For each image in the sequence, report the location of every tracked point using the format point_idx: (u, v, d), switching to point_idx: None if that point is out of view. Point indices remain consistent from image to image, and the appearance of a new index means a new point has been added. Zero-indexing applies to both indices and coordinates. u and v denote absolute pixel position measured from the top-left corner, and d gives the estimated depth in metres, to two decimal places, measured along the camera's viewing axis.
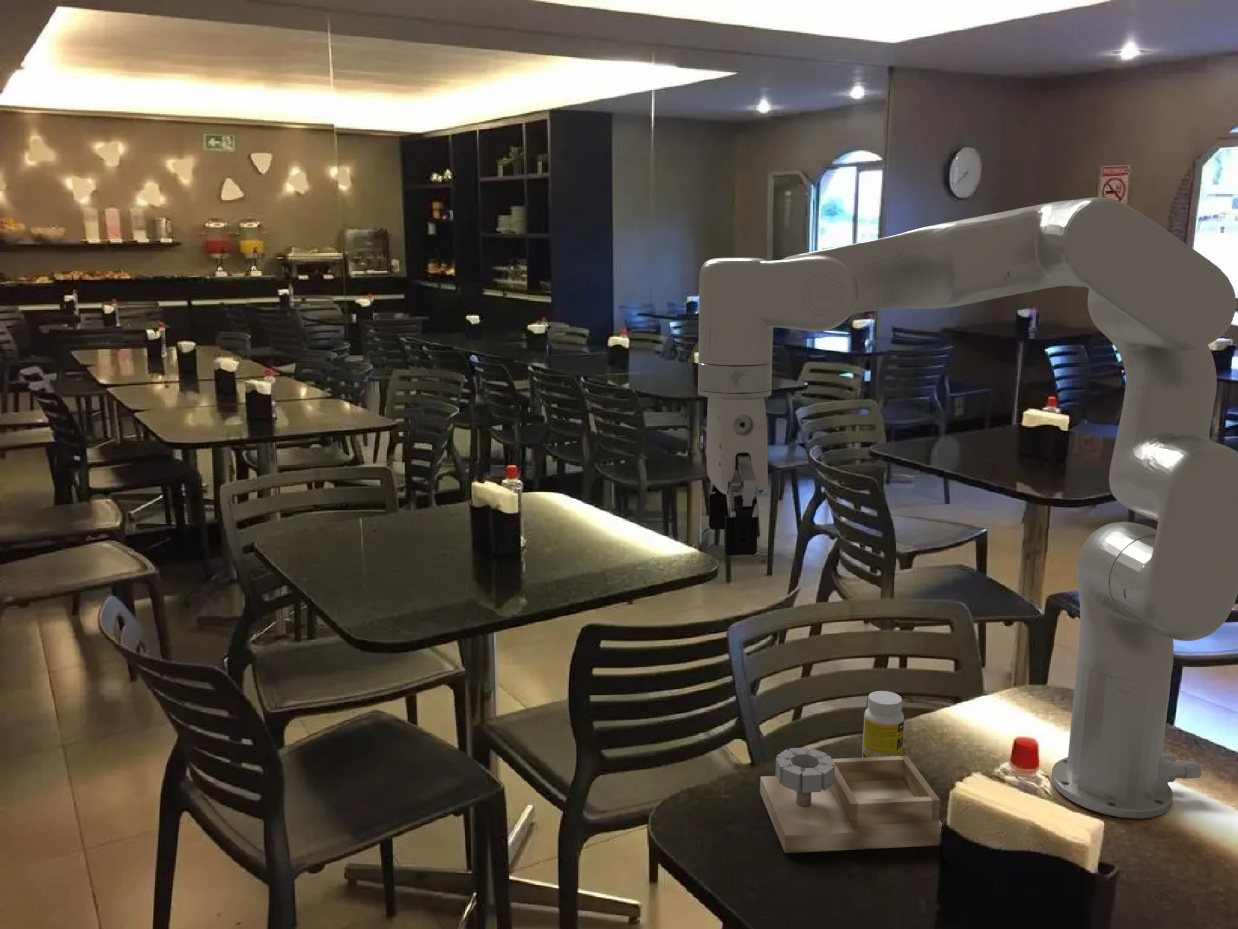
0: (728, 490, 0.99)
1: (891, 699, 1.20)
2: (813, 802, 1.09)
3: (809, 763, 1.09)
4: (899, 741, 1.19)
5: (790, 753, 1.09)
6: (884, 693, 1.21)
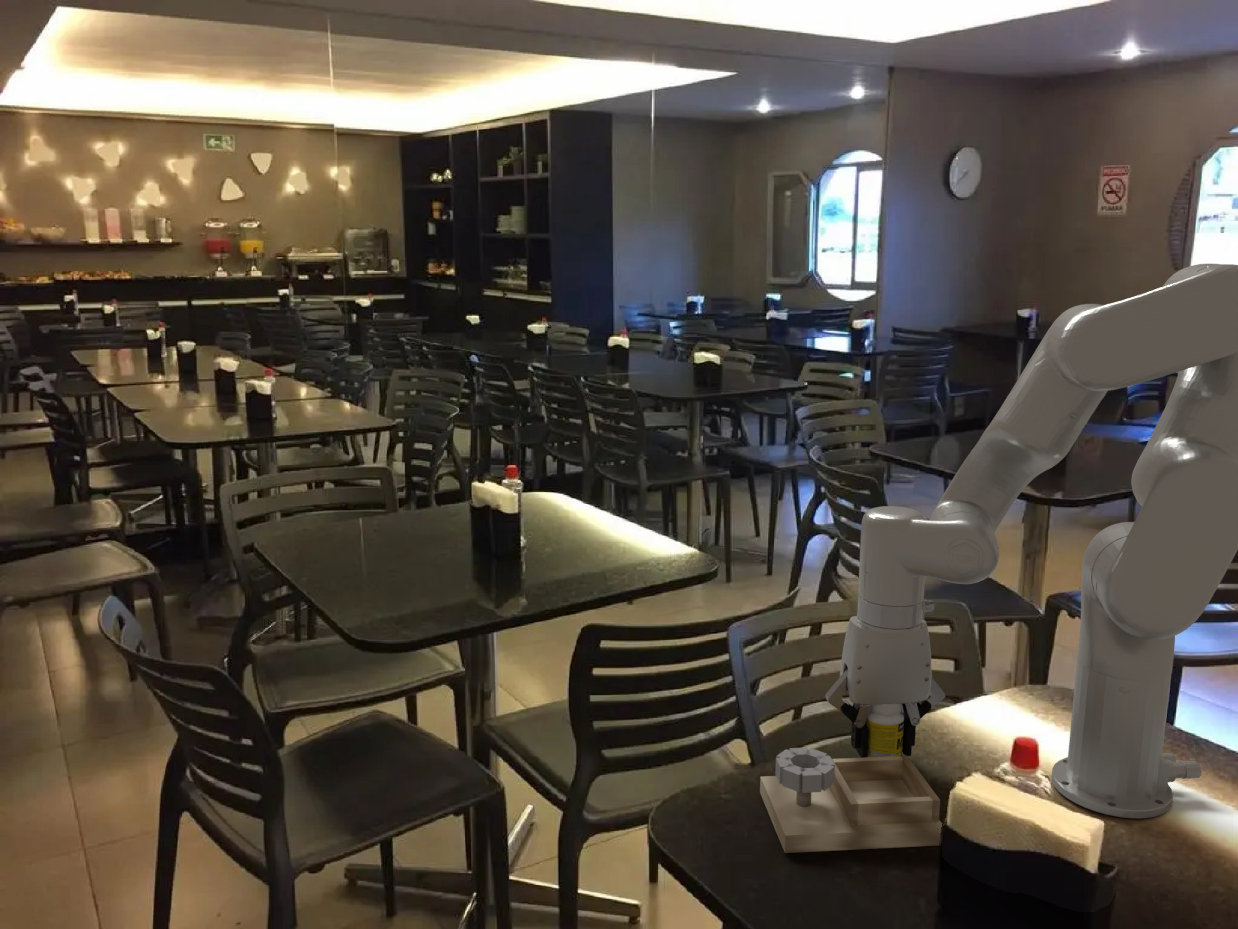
0: (927, 696, 1.19)
1: None
2: (813, 802, 1.09)
3: (809, 763, 1.09)
4: (899, 741, 1.19)
5: (790, 753, 1.09)
6: None
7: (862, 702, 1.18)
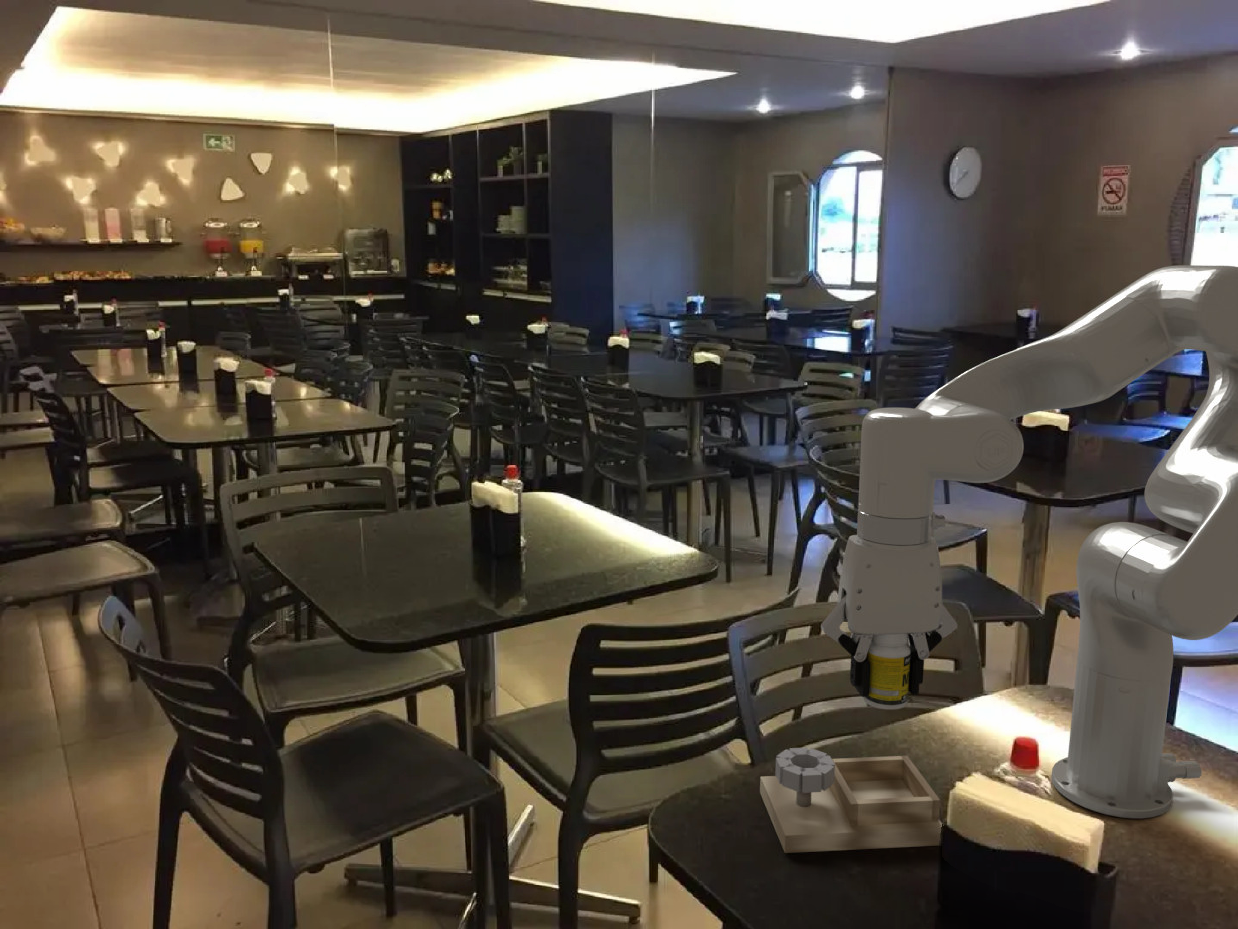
0: None
1: None
2: (813, 802, 1.09)
3: (809, 763, 1.09)
4: (904, 677, 1.04)
5: (790, 753, 1.09)
6: None
7: (863, 631, 1.03)
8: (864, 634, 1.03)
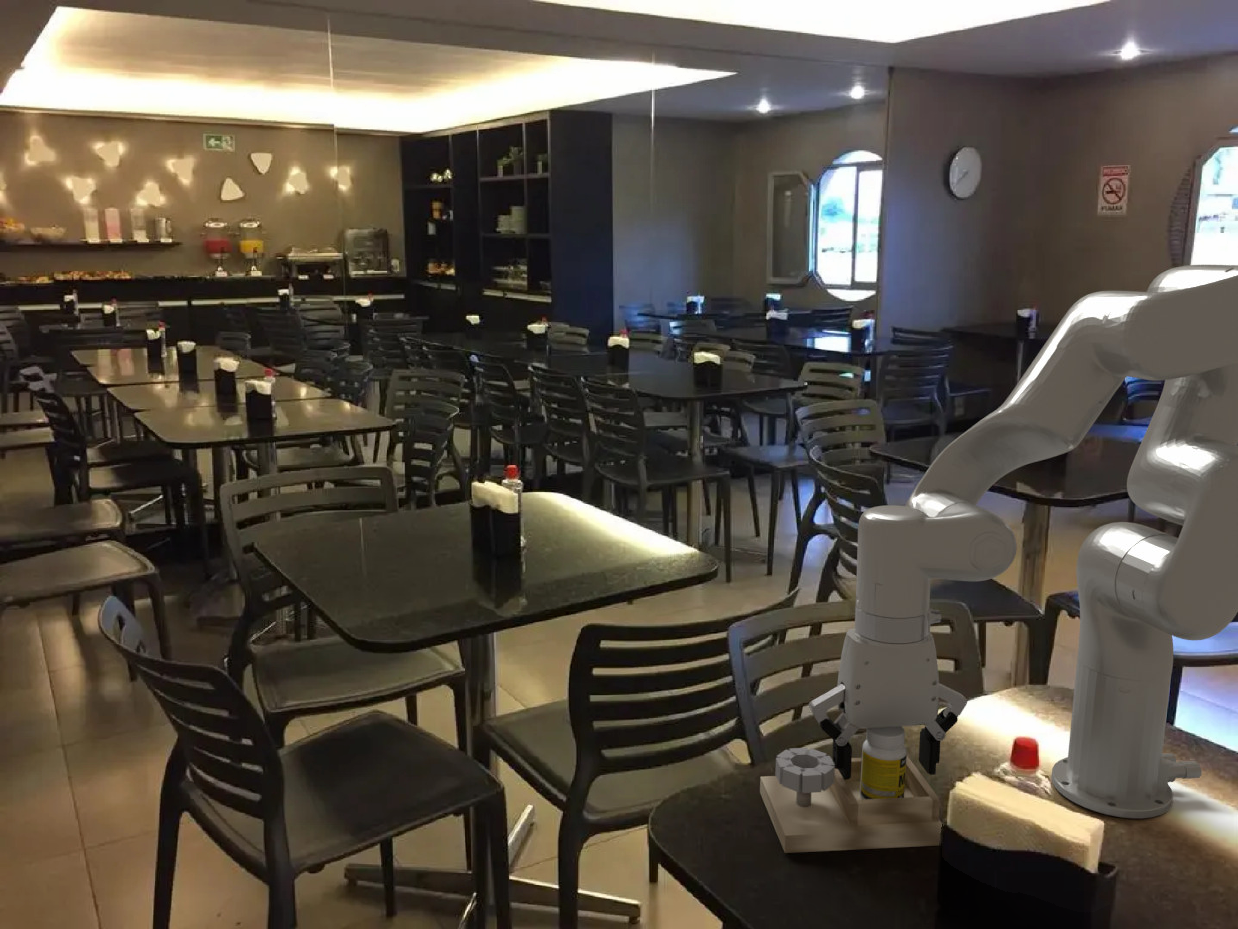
0: None
1: (892, 730, 1.07)
2: (813, 802, 1.09)
3: (809, 763, 1.09)
4: (901, 778, 1.07)
5: (790, 753, 1.09)
6: None
7: (862, 725, 1.05)
8: (863, 727, 1.05)
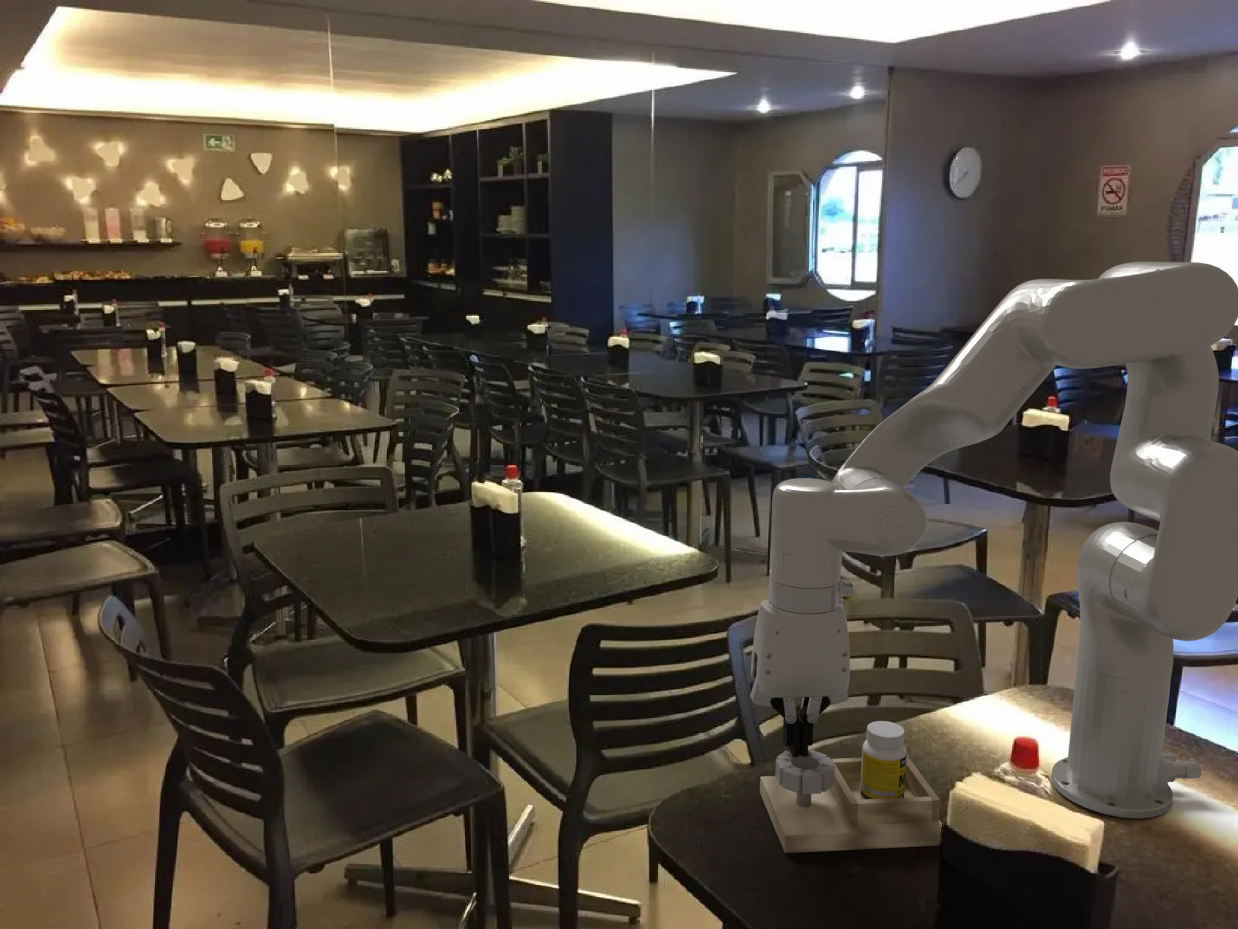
0: None
1: (892, 731, 1.07)
2: (813, 802, 1.09)
3: (809, 764, 1.09)
4: (901, 778, 1.07)
5: (790, 754, 1.09)
6: (884, 724, 1.09)
7: (772, 695, 1.06)
8: (774, 697, 1.07)
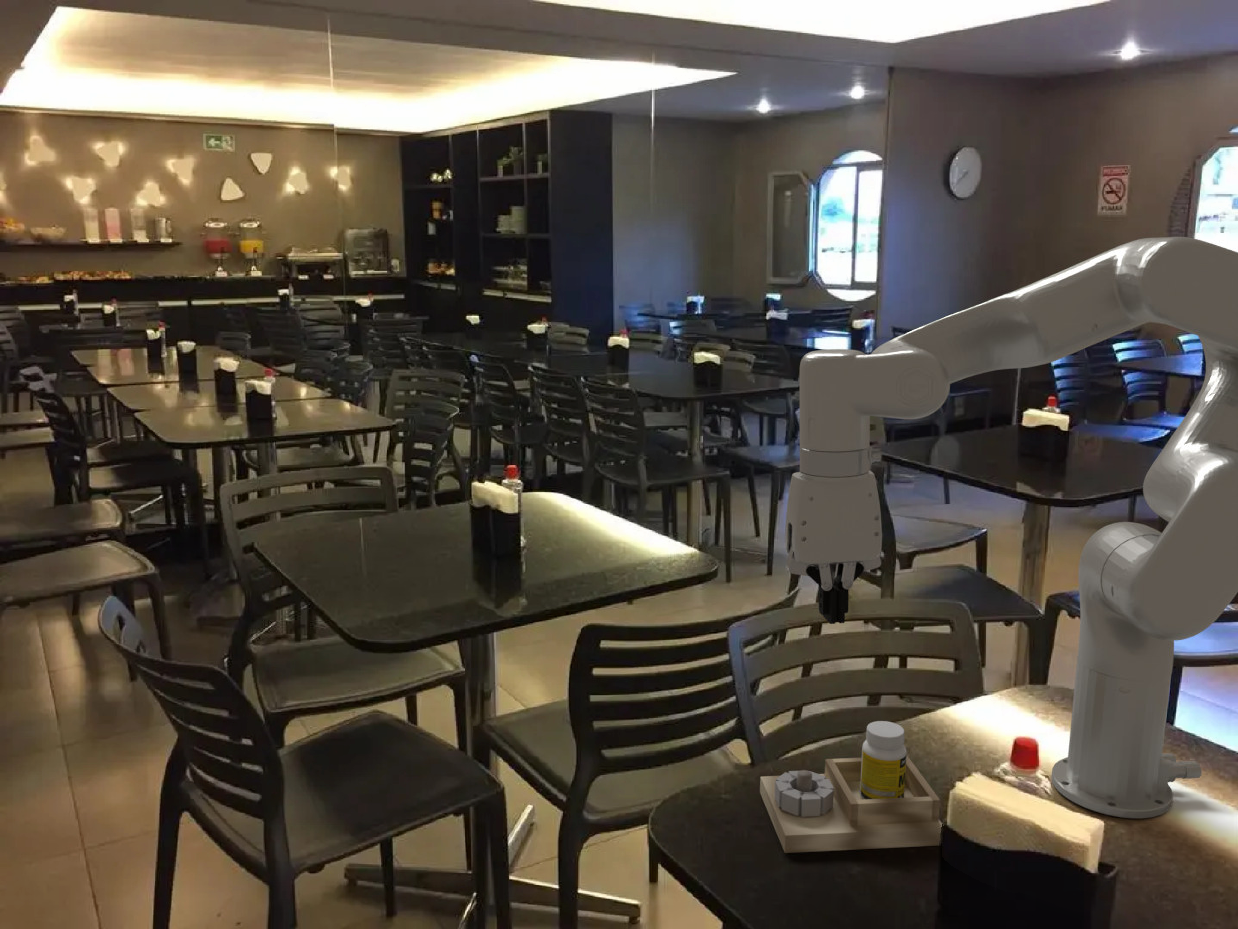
0: None
1: (892, 731, 1.07)
2: None
3: None
4: (901, 778, 1.07)
5: (789, 776, 1.10)
6: (884, 724, 1.09)
7: (809, 561, 1.09)
8: (810, 564, 1.10)
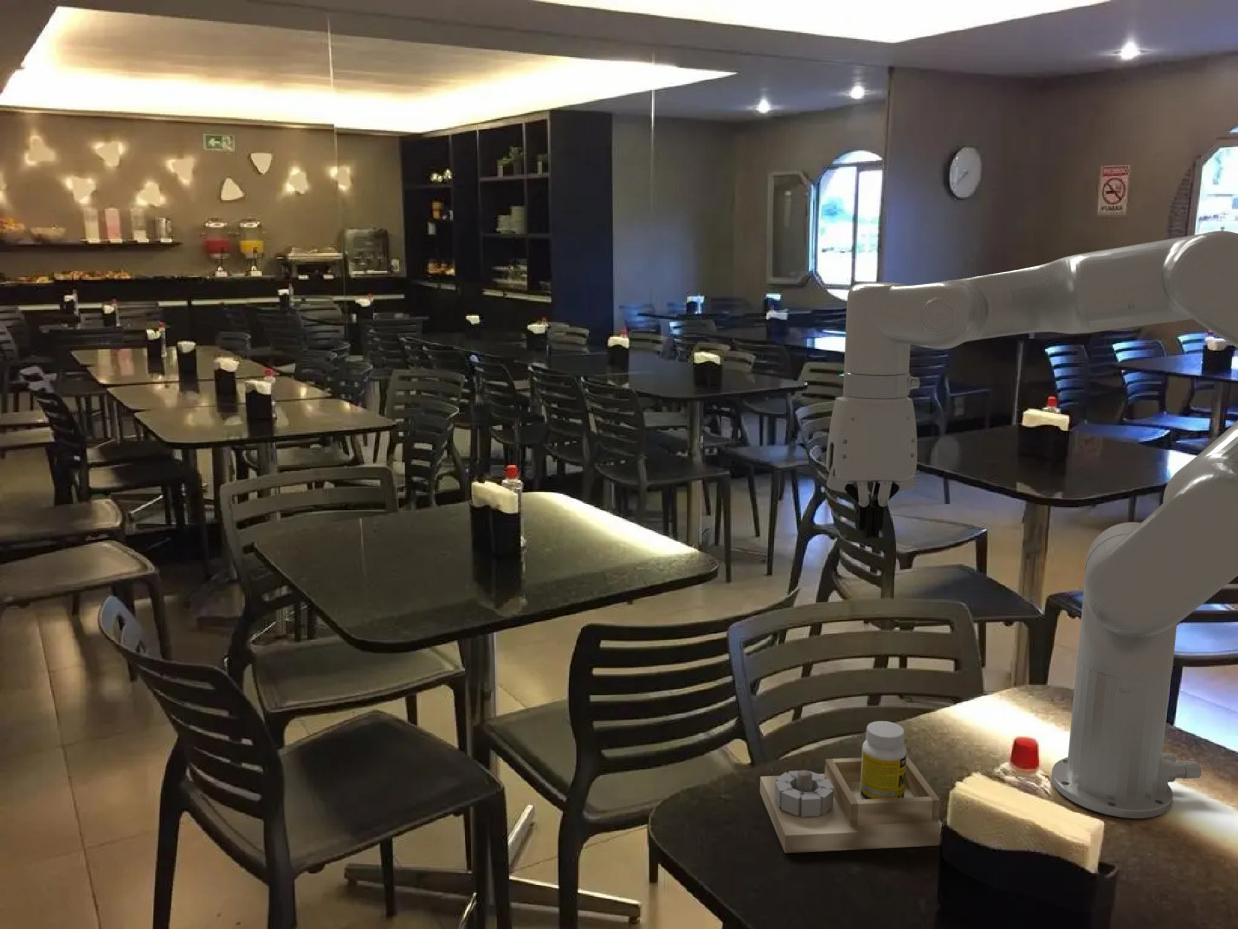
0: None
1: (892, 731, 1.07)
2: None
3: None
4: (901, 778, 1.07)
5: (789, 776, 1.10)
6: (884, 723, 1.09)
7: (848, 478, 1.18)
8: (849, 481, 1.19)
